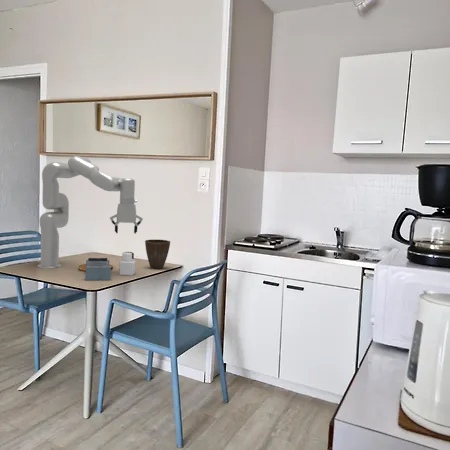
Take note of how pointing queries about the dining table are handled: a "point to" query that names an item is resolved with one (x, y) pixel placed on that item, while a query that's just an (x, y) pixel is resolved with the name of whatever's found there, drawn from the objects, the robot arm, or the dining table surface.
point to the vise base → (98, 272)
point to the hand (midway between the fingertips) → (125, 233)
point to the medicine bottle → (127, 264)
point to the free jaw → (97, 262)
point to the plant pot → (157, 252)
